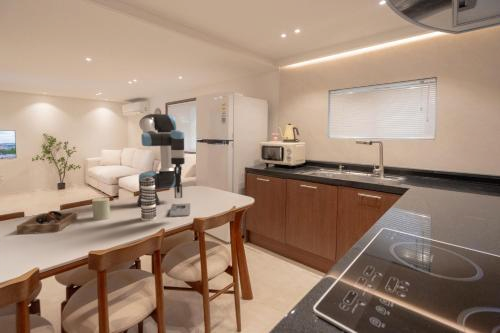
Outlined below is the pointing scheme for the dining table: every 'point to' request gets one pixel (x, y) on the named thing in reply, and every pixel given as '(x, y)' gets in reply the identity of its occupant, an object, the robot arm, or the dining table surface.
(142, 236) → the dining table surface
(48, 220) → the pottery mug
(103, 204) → the can
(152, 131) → the robot arm
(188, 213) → the socket plate
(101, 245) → the dining table surface
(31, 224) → the tray
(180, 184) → the plug
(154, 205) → the decorative candle
